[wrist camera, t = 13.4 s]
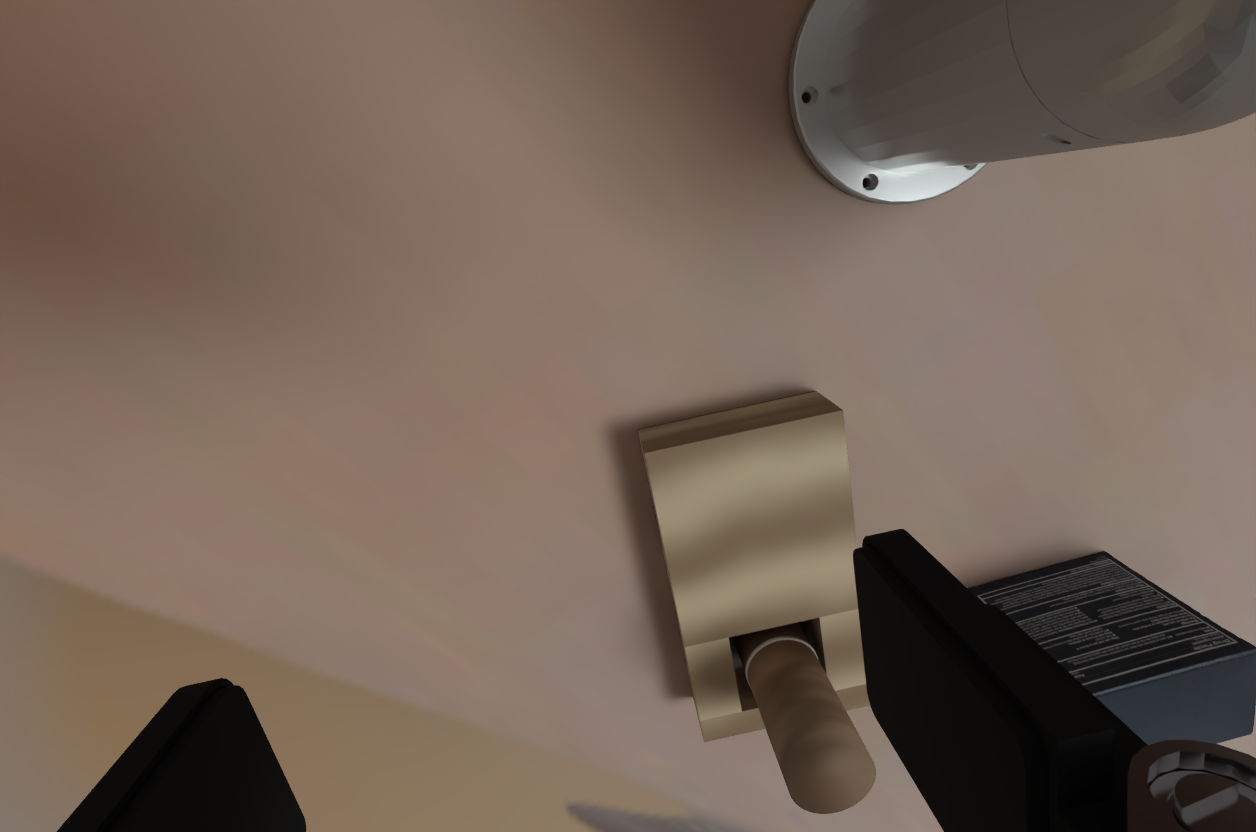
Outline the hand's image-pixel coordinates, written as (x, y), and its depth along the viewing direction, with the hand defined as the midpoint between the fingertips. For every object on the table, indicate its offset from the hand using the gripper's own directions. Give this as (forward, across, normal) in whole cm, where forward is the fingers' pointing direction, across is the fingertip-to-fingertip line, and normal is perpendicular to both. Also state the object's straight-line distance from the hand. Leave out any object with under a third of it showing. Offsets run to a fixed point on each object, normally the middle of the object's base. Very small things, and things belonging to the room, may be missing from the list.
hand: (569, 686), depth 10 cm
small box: (+29, -27, +25) cm, 47 cm away
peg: (+28, -8, +22) cm, 36 cm away
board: (+28, -8, +16) cm, 33 cm away
